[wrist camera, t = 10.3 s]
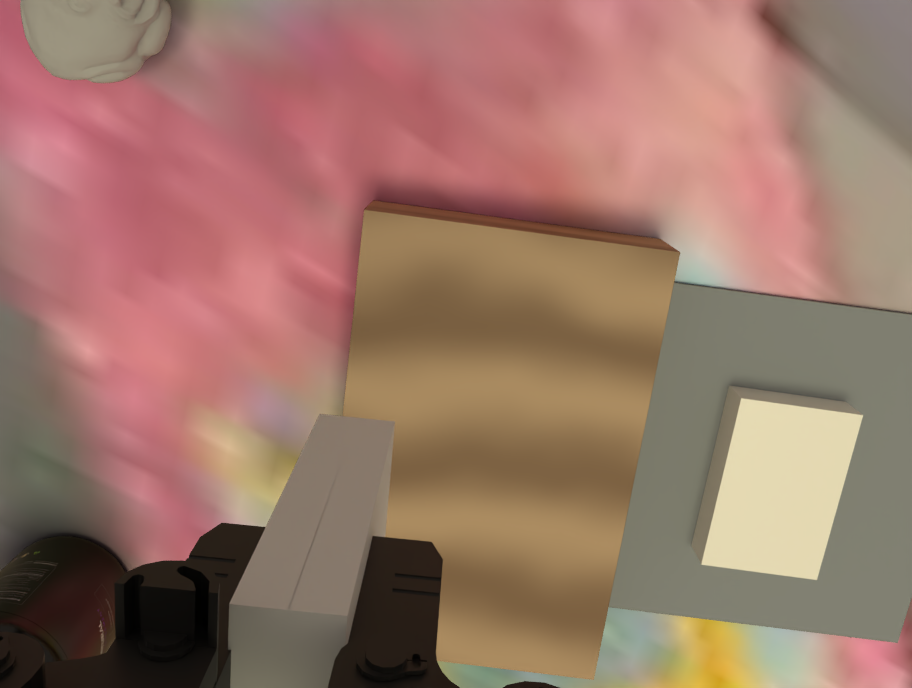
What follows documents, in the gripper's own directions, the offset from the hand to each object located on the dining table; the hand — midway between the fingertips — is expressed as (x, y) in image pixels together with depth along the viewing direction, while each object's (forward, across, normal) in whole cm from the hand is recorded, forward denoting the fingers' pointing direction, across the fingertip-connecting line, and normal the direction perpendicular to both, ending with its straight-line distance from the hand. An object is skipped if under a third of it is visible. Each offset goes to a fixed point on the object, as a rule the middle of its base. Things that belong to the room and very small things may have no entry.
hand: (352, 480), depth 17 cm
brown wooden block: (+26, +4, -9) cm, 28 cm away
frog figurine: (+26, -14, +9) cm, 32 cm away
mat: (+26, +20, -10) cm, 34 cm away
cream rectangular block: (+24, +19, -10) cm, 32 cm away
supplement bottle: (+26, -18, -21) cm, 37 cm away
